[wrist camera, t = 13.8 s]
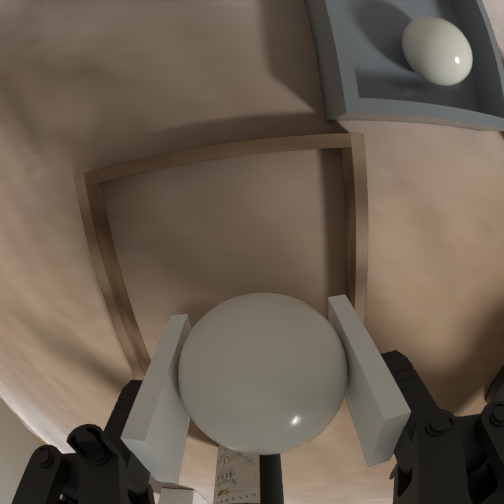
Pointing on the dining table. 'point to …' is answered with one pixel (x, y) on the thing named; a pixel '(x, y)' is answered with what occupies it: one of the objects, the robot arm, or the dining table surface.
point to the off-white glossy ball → (437, 50)
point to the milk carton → (180, 497)
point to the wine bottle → (247, 478)
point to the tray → (91, 181)
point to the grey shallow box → (403, 64)
